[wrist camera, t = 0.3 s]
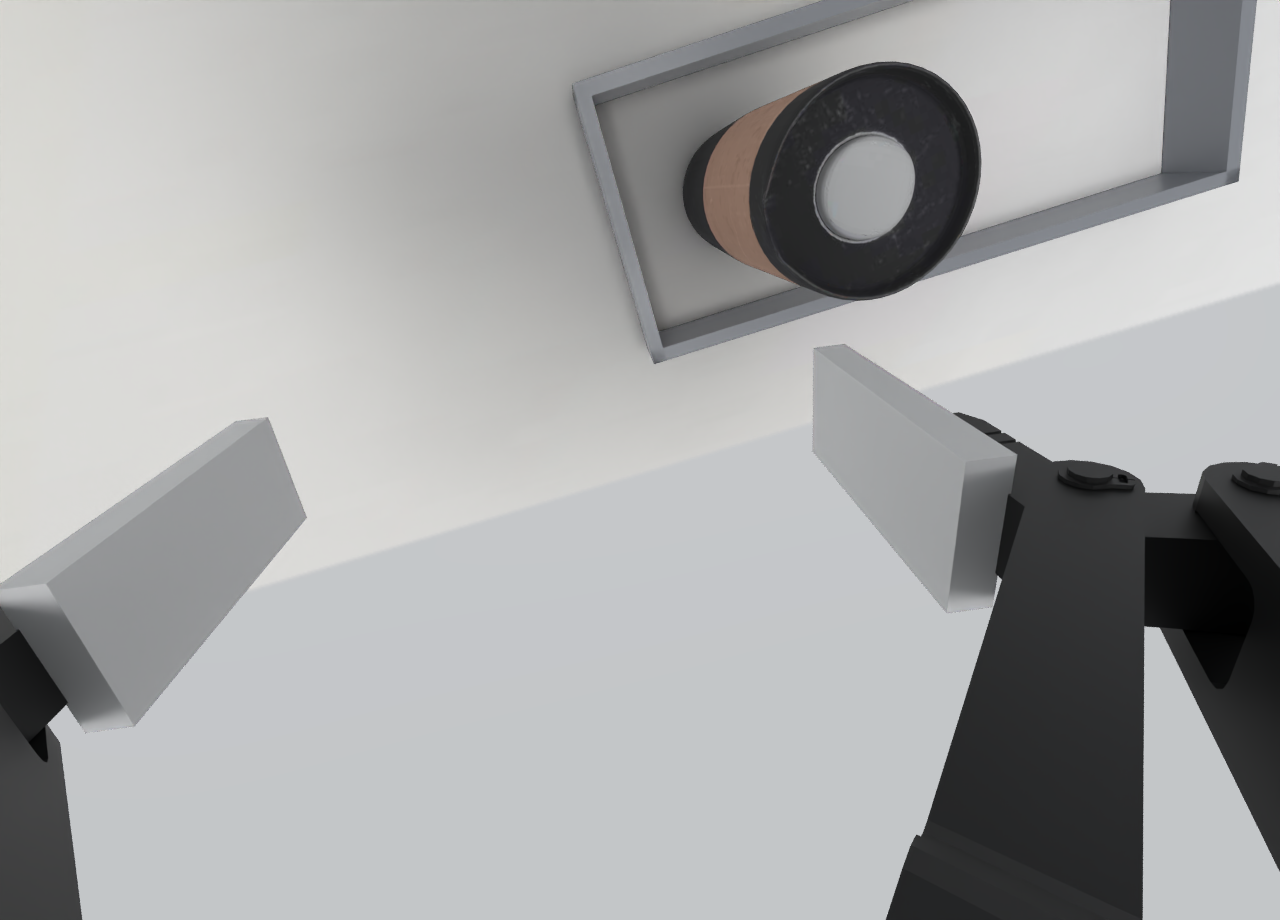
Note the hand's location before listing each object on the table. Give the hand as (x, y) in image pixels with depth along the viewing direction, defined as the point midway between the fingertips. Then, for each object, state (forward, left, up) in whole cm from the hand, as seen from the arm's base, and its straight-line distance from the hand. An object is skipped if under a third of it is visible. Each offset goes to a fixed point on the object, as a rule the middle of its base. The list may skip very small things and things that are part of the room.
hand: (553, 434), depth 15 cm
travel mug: (-9, +8, -28) cm, 30 cm away
